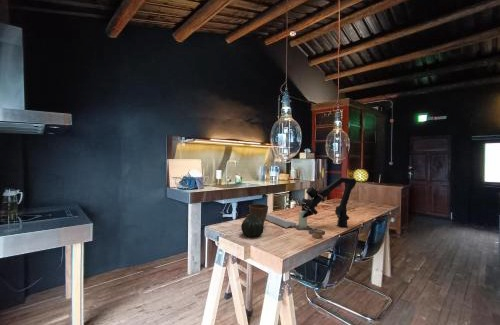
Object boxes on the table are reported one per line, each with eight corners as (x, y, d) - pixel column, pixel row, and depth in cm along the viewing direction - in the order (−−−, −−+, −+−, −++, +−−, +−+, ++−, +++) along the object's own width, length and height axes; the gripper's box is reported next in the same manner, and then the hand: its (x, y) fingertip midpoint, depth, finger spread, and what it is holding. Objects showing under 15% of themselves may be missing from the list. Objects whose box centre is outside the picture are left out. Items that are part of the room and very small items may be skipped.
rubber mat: (306, 225, 196) (306, 224, 196) (312, 229, 186) (312, 228, 186) (293, 226, 194) (293, 225, 194) (298, 230, 184) (298, 229, 184)
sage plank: (304, 226, 193) (304, 210, 192) (306, 227, 189) (307, 211, 188) (298, 226, 191) (298, 210, 191) (300, 227, 188) (301, 212, 187)
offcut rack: (316, 231, 182) (316, 228, 182) (325, 233, 176) (325, 231, 176) (308, 233, 177) (308, 230, 177) (317, 236, 171) (317, 233, 171)
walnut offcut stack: (316, 236, 172) (316, 229, 172) (322, 238, 168) (323, 231, 168) (311, 237, 168) (312, 230, 168) (318, 239, 165) (318, 232, 164)
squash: (266, 231, 161) (262, 210, 170) (243, 233, 158) (241, 212, 167) (262, 240, 171) (259, 220, 181) (241, 242, 168) (238, 221, 178)
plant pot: (267, 224, 197) (268, 204, 197) (267, 230, 182) (267, 208, 182) (249, 223, 199) (249, 203, 198) (247, 228, 184) (247, 207, 184)
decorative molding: (270, 219, 221) (260, 218, 216) (271, 214, 222) (262, 212, 217) (295, 229, 192) (285, 227, 187) (296, 223, 192) (286, 221, 187)
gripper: (303, 192, 199) (289, 206, 197) (314, 196, 181) (299, 212, 179) (311, 202, 201) (298, 216, 199) (323, 207, 183) (309, 222, 181)
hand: (301, 216), depth 190 cm, fingers open, 6 cm apart
